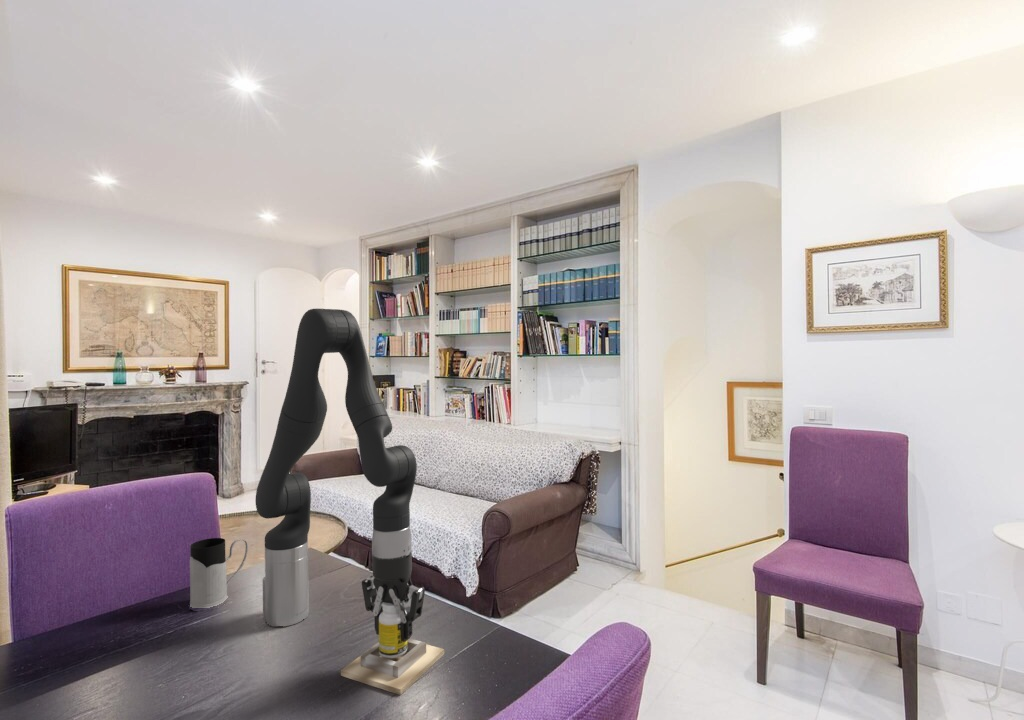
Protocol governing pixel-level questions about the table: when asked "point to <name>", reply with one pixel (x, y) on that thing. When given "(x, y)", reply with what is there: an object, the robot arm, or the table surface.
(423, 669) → the socket stand
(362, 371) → the robot arm
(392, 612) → the supplement bottle
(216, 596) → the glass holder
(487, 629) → the table surface
